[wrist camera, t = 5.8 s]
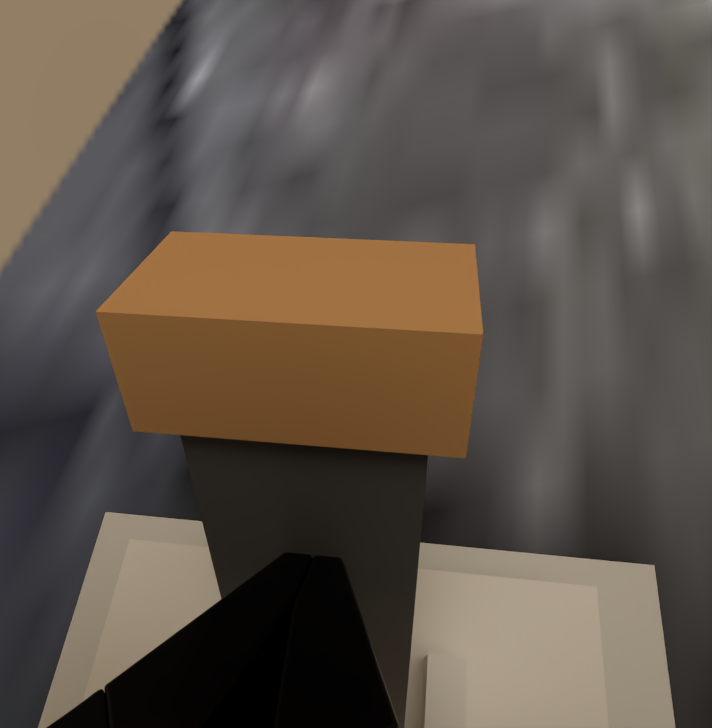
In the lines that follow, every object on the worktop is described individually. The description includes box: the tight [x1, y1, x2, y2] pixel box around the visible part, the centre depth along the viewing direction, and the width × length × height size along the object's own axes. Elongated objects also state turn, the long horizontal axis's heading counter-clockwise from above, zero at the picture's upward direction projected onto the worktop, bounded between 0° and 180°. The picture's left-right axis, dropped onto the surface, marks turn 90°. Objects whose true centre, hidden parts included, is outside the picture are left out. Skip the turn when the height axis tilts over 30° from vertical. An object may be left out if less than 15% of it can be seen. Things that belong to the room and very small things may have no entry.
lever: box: [96, 231, 483, 728], centre depth 9 cm, size 2×4×10 cm, turn 84°
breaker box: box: [38, 512, 675, 728], centre depth 15 cm, size 10×18×7 cm, turn 84°
